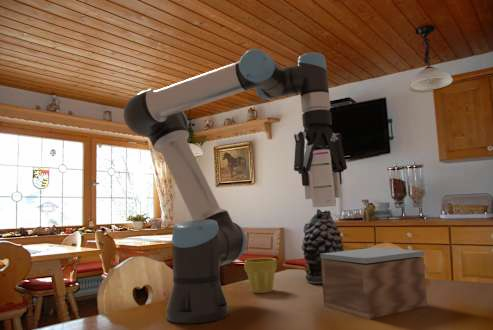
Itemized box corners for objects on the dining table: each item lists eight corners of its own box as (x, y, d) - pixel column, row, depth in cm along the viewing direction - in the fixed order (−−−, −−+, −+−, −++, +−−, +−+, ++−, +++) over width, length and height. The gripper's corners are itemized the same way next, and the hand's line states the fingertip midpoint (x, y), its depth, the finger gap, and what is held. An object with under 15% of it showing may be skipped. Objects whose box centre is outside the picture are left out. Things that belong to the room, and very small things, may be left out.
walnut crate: (369, 319, 92) (365, 265, 93) (323, 305, 106) (321, 259, 107) (427, 306, 102) (423, 257, 103) (379, 295, 115) (376, 252, 117)
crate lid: (365, 263, 93) (364, 258, 93) (320, 258, 107) (320, 253, 107) (424, 255, 103) (424, 251, 103) (376, 251, 117) (376, 247, 117)
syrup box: (335, 206, 100) (330, 148, 102) (311, 207, 102) (307, 150, 103) (336, 206, 106) (331, 151, 108) (313, 207, 107) (309, 153, 109)
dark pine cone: (306, 275, 155) (303, 209, 157) (347, 275, 151) (342, 208, 154) (299, 285, 135) (295, 210, 137) (346, 286, 131) (341, 208, 134)
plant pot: (240, 294, 125) (239, 261, 126) (251, 287, 135) (250, 257, 136) (273, 295, 122) (271, 261, 123) (281, 288, 131) (280, 257, 132)
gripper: (338, 117, 115) (345, 197, 112) (275, 113, 105) (281, 200, 103) (356, 110, 108) (364, 195, 105) (290, 105, 99) (298, 199, 96)
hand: (323, 198), depth 104 cm, fingers closed on syrup box, 8 cm apart
